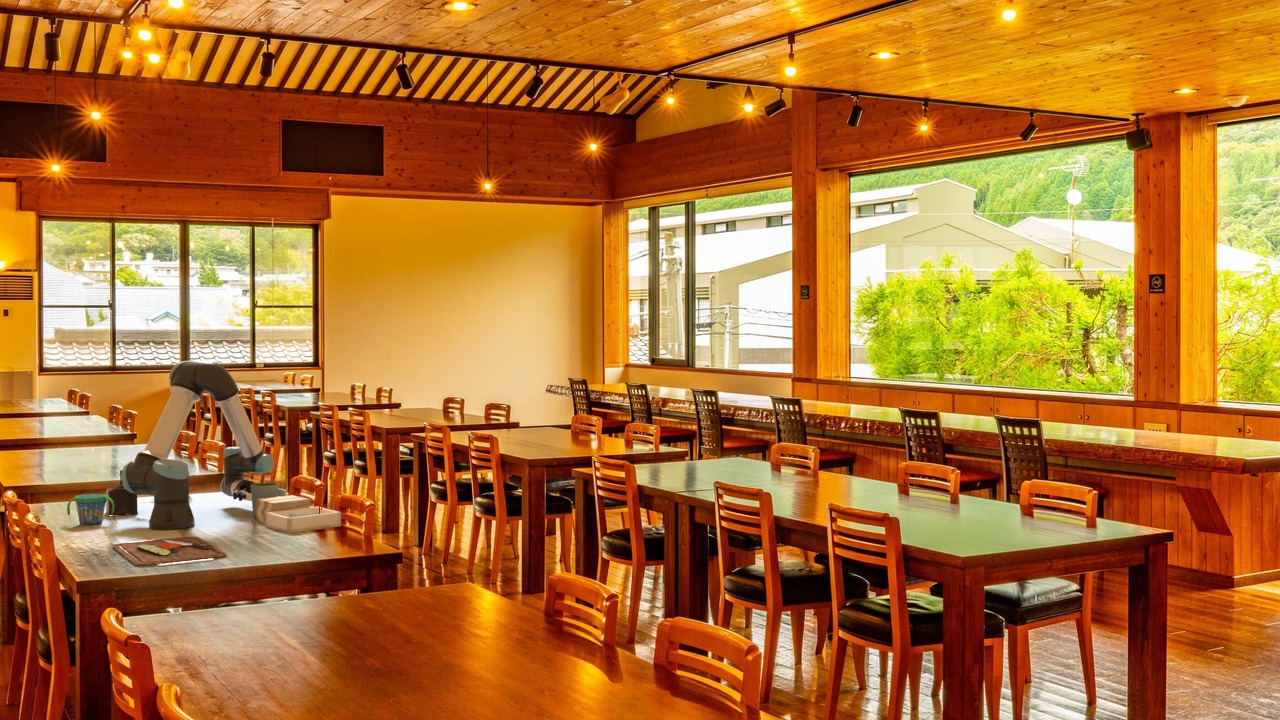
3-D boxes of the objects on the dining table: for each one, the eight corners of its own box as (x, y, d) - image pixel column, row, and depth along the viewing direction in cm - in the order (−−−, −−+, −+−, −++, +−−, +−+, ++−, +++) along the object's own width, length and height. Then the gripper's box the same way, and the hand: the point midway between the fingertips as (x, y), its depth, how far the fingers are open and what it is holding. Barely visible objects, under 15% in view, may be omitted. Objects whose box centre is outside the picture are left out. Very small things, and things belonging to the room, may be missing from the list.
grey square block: (296, 515, 419) (296, 526, 419) (312, 513, 423) (312, 524, 423) (289, 513, 424) (289, 524, 424) (305, 511, 427) (305, 522, 428)
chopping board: (109, 547, 389) (109, 537, 389) (194, 538, 404) (194, 529, 404) (138, 570, 352) (138, 560, 352) (231, 560, 367) (231, 550, 367)
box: (265, 526, 424) (265, 512, 424) (317, 520, 438) (317, 506, 438) (288, 533, 411) (288, 518, 411) (341, 526, 424) (341, 512, 424)
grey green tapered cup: (269, 518, 442) (269, 486, 441) (244, 517, 444) (244, 484, 444) (283, 514, 451) (283, 482, 451) (259, 513, 454) (259, 481, 454)
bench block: (256, 520, 437) (256, 499, 436) (292, 516, 446) (292, 495, 446) (273, 525, 426) (273, 503, 426) (309, 521, 436) (309, 499, 435)
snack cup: (118, 520, 438) (117, 493, 437) (109, 525, 427) (108, 497, 427) (73, 521, 435) (72, 494, 435) (63, 526, 425) (62, 498, 425)
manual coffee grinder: (108, 516, 447) (107, 469, 446) (105, 512, 456) (104, 465, 456) (152, 513, 454) (152, 466, 454) (149, 509, 464) (148, 463, 463)
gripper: (275, 496, 469) (299, 502, 453) (212, 502, 452) (236, 509, 437) (275, 477, 469) (299, 482, 453) (212, 482, 452) (235, 488, 436)
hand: (268, 495), depth 445 cm, fingers open, 13 cm apart
